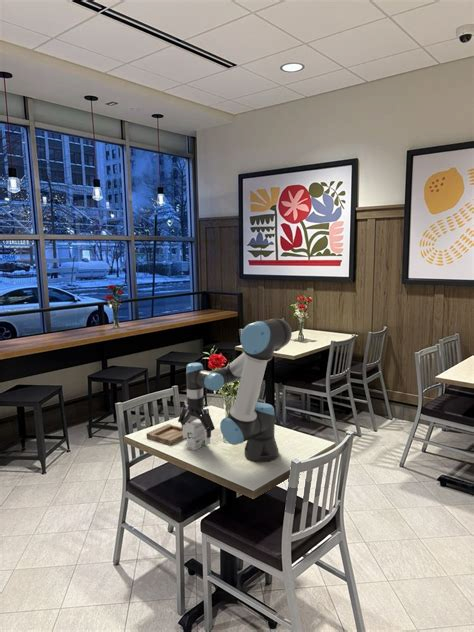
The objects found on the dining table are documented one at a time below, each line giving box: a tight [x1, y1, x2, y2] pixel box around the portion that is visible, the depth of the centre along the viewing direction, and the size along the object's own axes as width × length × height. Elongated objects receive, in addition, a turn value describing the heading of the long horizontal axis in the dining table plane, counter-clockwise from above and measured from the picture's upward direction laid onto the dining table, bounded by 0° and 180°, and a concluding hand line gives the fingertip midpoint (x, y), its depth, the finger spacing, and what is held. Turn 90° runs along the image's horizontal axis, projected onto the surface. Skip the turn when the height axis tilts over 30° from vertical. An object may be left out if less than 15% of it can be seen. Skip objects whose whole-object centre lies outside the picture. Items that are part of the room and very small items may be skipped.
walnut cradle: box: [146, 423, 185, 446], centre depth 224 cm, size 16×15×2 cm
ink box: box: [185, 419, 206, 451], centre depth 211 cm, size 8×5×12 cm, turn 145°
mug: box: [181, 398, 198, 423], centre depth 244 cm, size 12×8×11 cm
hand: (196, 440), depth 212 cm, fingers open, 13 cm apart
